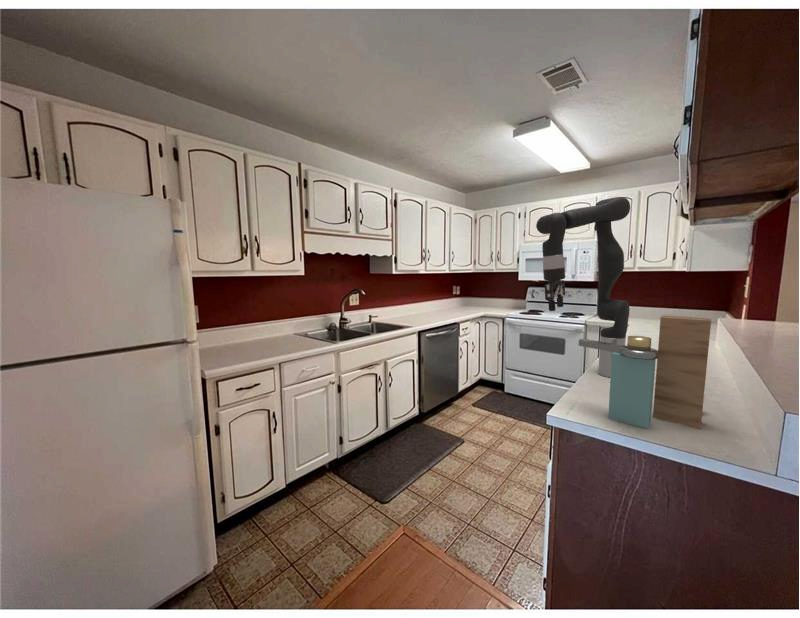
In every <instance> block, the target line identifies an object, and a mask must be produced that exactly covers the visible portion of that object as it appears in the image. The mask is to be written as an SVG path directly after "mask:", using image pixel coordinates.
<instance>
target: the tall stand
mask: <svg viewBox="0 0 800 618" xmlns="http://www.w3.org/2000/svg"><path fill="white" fill-rule="evenodd" d="M659 320H660V322H659V334H658V345H657V346H658V347H657V350H658V358H657V359H656V369H655V382H654V394H653V407H652V419H657V420H662V421H665V422H670V423H674V424H678V425H681V426H685V427H690V428H694V429H698V430H701V428H702V418H703V409H704V404H703V400H704V392H705V388H706V387H705V386H706V379H707V376H706V375H707V367H708V356H709V346H710V338H711V337H710V336H711V325H712V317H703V316H702V317H699V316H686V315H683V316H682V315H669V314H662V315H661V316H660V319H659ZM704 401H705V400H704Z"/></svg>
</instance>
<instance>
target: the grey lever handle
mask: <svg viewBox="0 0 800 618" xmlns="http://www.w3.org/2000/svg"><path fill="white" fill-rule="evenodd" d="M578 347H583V348H584V347H585V348H588V349H589V348H590V349H594V350H595V349H596V350H599V351H600V350H604V351H610V352H615V353H620V355H622V356H625V357H628V358H633V359H641V360H655V359H656V360H657V358H658V349H656V348H652V338H651V337H648V336H642V335H628V336H627V343H626V345H625V346H624V345H618V344H612V343H606V342H600V340H594V339H589V338H588V339H587V338H581V339H580V338H579V340H578Z"/></svg>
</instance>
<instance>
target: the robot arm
mask: <svg viewBox="0 0 800 618" xmlns="http://www.w3.org/2000/svg"><path fill="white" fill-rule="evenodd" d="M630 211H631V204H630V201H629V199H627V198H626V197H623V196H615V197H609V198H606V199H601V200H599V201H598V202H597V203H596V204H595V205H591V206H585V207H584V206H583V207H577V208H572V209H569V210H566V211H561V212H553V213H549V214H546V215H545V214H544V215H543V216H541V217H540V218H539V219H538V220H537V221H536V224H535V227H536V229H537V231H538V232H539V233H540V234H542V235H549V236H548V239H546V240H545V241H544V242H543V243H542V244H541V245H542V272H543V273H542V275H543V281H545V282H548V283H547V284H544V299H545V301H547V302H548V311H549V312H554V311H555V312H556V306H557V308H563V307H564V296H566V287H565V286H566V285H565V284H566V283H565V280H564V279H566V265H565V262H566V261H565V257H564V246H563V245H564V244H563V243H564V239H565V234H566V230H571V229H574V228H579V227H583V226H587V225H590V224H593V223H595V224H594V225H595V231H596V240H597V241H596V242H597V243H596V244H597V271H598V272H597V273H598V274H597V275H598V276H597V277H598V291H597V304H596V310H597V311H596V312H597V317H598V318H599V319H600V320H602V321H609V322H614V323H613V325H612V326H610V327H606V328H601V330H600V333H599V335H600V337H599V341H600V342H606V343H612V344H618V345H624V346H626V339H627V333H628V332H627V331H628V328H629V327H628V325H629V319H630V304H629V302H628V301H626V300H625V299H624V300H623V299H611V292H612V288H613V287H614V285H615V283H616V282H617V281H618V279H619V278H620V276H621V275H622V273H623V272H624V269H625V253H624V250H623V248H622V246H621V245H620V244H619V242H618V241H617V239H616V237H615V236H614V234H613V230H612V223H613V222H618V221H622V220H624V219H625V218H627V216H628V215H629V214H630ZM598 353H599V355H598V371H597V373H598V375H600V376H602V377H606V378H610V379H611V364H612V353H613V352H610V351H604V350H599V352H598Z"/></svg>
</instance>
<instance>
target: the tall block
mask: <svg viewBox="0 0 800 618" xmlns="http://www.w3.org/2000/svg"><path fill="white" fill-rule="evenodd" d="M656 363H657V359H655V360H641V359H633V358H628V357H625V356H622V355H620V353H615V352H613V353H612V364H611V378H610V380H609V381H610V382H609V383H610V384H609V398H608V399H609V400H608V416H607V418H608V419H609V420H613V421H617V422H620V423H624V424H628V425H632V426H635V427H639V428H644V429H646V430H649V427H650V426H651V423H652V414H653V401H654V389H655V376H656Z"/></svg>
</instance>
